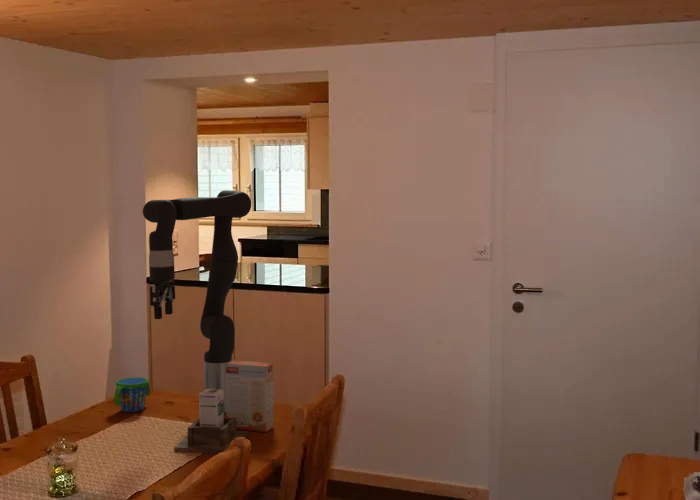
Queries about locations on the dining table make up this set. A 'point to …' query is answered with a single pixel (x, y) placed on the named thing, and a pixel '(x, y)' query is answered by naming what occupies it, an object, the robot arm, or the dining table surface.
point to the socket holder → (210, 437)
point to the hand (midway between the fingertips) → (163, 316)
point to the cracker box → (250, 395)
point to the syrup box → (211, 408)
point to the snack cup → (131, 394)
